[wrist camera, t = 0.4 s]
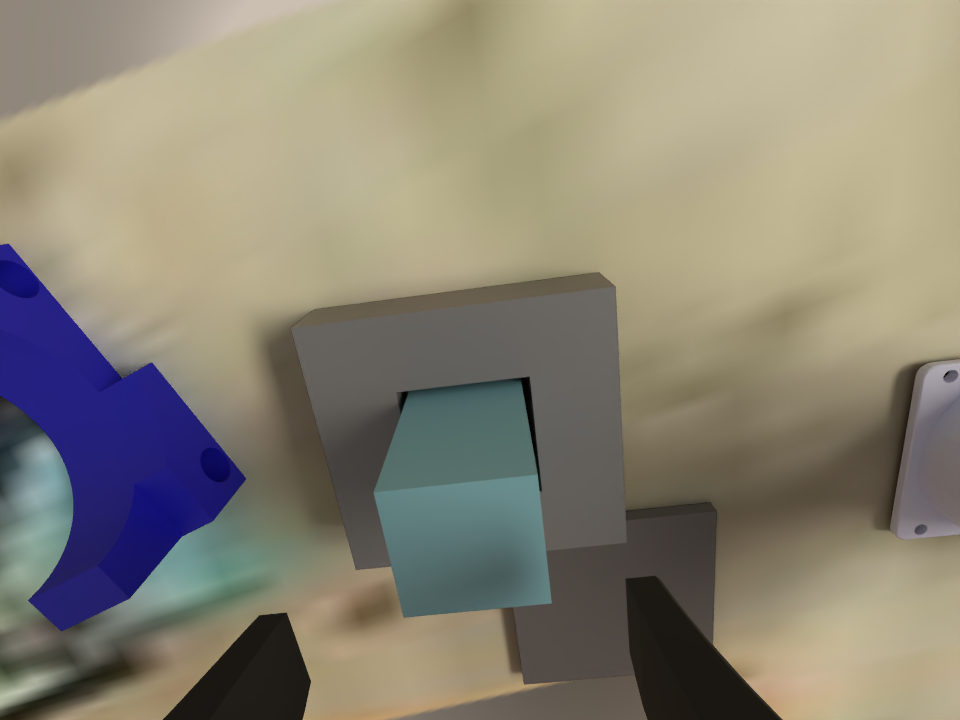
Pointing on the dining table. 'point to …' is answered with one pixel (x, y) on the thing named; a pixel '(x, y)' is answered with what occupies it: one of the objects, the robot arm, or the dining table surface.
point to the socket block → (472, 359)
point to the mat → (616, 594)
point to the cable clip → (105, 451)
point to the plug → (464, 502)
